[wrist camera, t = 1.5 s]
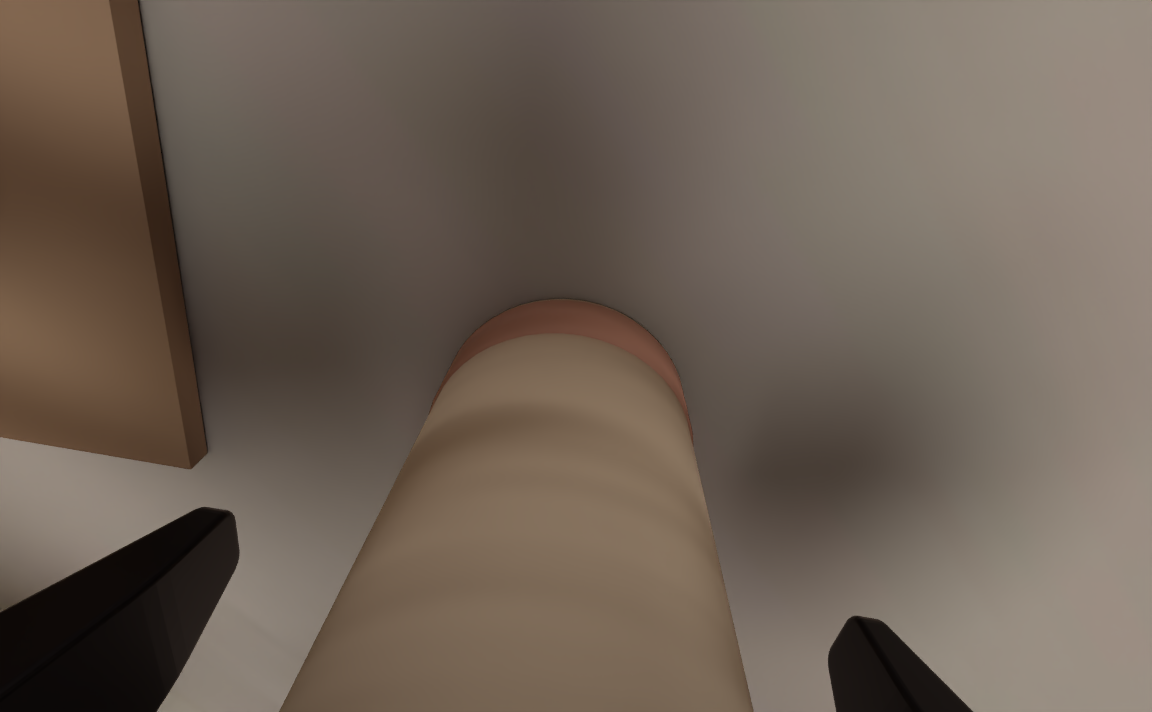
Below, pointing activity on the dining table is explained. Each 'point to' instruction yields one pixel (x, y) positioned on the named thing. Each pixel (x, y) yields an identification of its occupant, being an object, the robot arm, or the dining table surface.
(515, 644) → the beige rounded peg
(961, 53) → the dining table surface
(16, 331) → the walnut socket
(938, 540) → the dining table surface
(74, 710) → the robot arm
